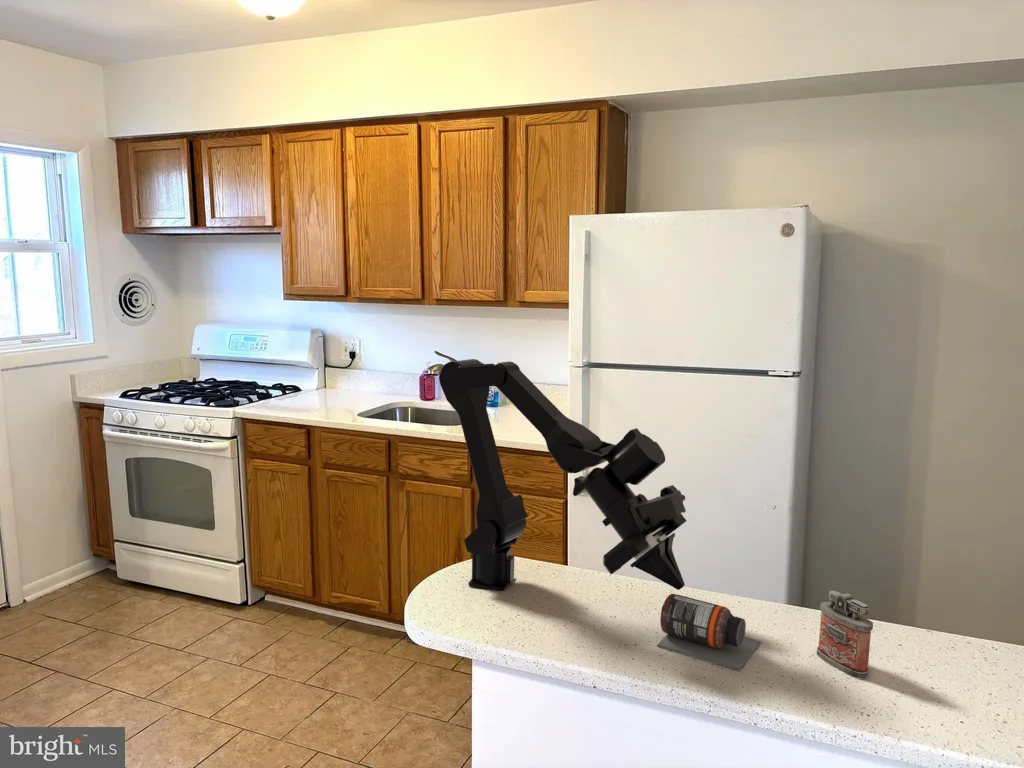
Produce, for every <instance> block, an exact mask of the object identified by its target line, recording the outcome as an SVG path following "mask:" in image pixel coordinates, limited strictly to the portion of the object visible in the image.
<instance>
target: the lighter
mask: <svg viewBox="0 0 1024 768" xmlns="http://www.w3.org/2000/svg"><path fill="white" fill-rule="evenodd" d="M828 596H829V597H828V599H829V601H823V602H821V603H820V604H819V605H820V606H819V611H821V613H820V622H819V623H820V624H819V637H818V646H817V647H816V656H817V657H818V658H819V659H820V660H822V661H823V662H825V663H827V664H828V665H830V666H831V667H833V668H834V669H836V668H837V669H836V670H837V671H840V672H841V671H842V673H843V672H844V673H843V674H846V675H847V676H850V677H851V678H854V677H855V679H858V678H866V679H868V678H869V673H870V669H869V658H870V648H871V647H870V646H871V645H870V644H871V636H872V635H871V634H872V631H873V628H874V623H873V621H871V620H870V619H868V618H867V617H866V616H869V612H870V611H869V610H870V607H869V605H868V604H866V603H863V602H862V601H859V600H857V599H854V597H853V595H852V594H850V593H844V594H842V593H841V592H839V591H836V590H830V591H829V595H828ZM867 677H868V678H867Z"/></svg>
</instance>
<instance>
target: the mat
mask: <svg viewBox="0 0 1024 768" xmlns="http://www.w3.org/2000/svg"><path fill="white" fill-rule="evenodd" d="M761 642H762V641H761V640H758V639H753V638H750V637H748V636H747V637H746V636H744V639H743V642H742V644H741V646H740V647H736V646H731V645H730V644H728V645H725V646H724V647H723V648H714V647H711V646H707V645H704V644H701V643H697V642H694V641H690V640H687V639H683V638H680V637H676V636H673V635H670V634H666V635H665V637H663V638H662V639H661V640H660V641H659V642H658V643H657V645H656V646H657V647H658V648H661V649H665V650H668V651H672V652H675V653H677V654H681V655H685V656H687V657H692V658H695V659H698V660H702V661H705V662H708V663H711V664H715V665H717V666H721V667H725V668H728V669H730V670H735V671H738V672H740V671H741V670H742V669H743V668H744V666H745V665H746V664H747V662H748V661H749V660H750V658H751V657H752V656H753V654H754V653H755V651H756V650H757V649H758V648H759V646H760V645H761Z"/></svg>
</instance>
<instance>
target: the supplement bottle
mask: <svg viewBox="0 0 1024 768" xmlns="http://www.w3.org/2000/svg"><path fill="white" fill-rule="evenodd" d="M659 622H660V628H661V630H662V633H665V634H666V635H668V634H670V635H673V636H676V637H680V638H683V639H687V640H690V641H694V642H697V643H701V644H704V645H707V646H711V647H714V648H723V647H724V646H725V645H728V644H730V645H731V646H736V647H740V646H741V644H742V642H743V639H744V637H745V634H746V624H747V623H746V620H745V619H744V618H742V617H739V616H734V615H733V613H731V610H730V609H729V608H728V607H726V606H723V605H721V604H720V605H719V604H716V603H711V602H707V601H705V600H699V599H696V598H693V597H689V596H686V595H681V594H676V593H671V594H668V596H667V597H665V600H664V601H663V604H662V608H661V611H660V621H659Z"/></svg>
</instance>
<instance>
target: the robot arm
mask: <svg viewBox="0 0 1024 768" xmlns="http://www.w3.org/2000/svg"><path fill="white" fill-rule="evenodd" d="M438 380H439V384H440V387H441V390H442V392H443V395H444V398H445V399H446V401H447V402H448V403H449V404H450V406H451V407H452V408H453V409H454V410H455V412H456V413H457V415H458V418H459V421H460V426H461V428H462V429H461V430H462V433H463V436H464V437H463V438H464V441H465V444H466V449H467V452H468V455H469V460H470V464H471V468H472V472H473V475H474V480H475V484H476V488H477V491H478V501H477V504H476V509H475V519H476V521H475V522H476V529H474V530H473V531H472V532H471V533H469V534H468V536H467V537H466V538H464V541H463V542H464V544H465V545H464V546H465V549H466V552H467V553H471V579H470V580H469V581H468V582H467V583H468V586H469V587H476V588H484V589H489V590H490V589H491V590H498V591H505V590H506V589H507V587H508V586H509V585H510V584H511V582H512V581H513V579H514V578H515V556H514V555H512V550H513V549H512V546H513V545H516V544H517V542H518V540H519V537H520V536H522V535H523V534H524V531H525V529H526V528H527V519H526V518H528V517H529V515H528V513H527V512H526V510H525V503H524V499H523V495H521V494H518V495H514V494H513V493H512V491H511V490H510V489H509V488H508V486H507V483H506V479H505V475H504V471H503V467H502V463H501V459H500V456H499V452H498V448H497V447H498V446H497V444H496V441H495V436H494V432H493V429H492V424H491V421H490V417H489V413H488V409H487V408H488V407H487V404H488V400H489V399H488V398H489V394H490V387H495V388H497V390H499V391H500V392H501V393H502V394H503V395H504V396H505V398H506V399H507V400H508V401H509V402H510V403H511V404H512V405H513V406H514V407H515V409H517V410H518V411H519V412H520V413H521V414H522V415H523V416H524V418H525V419H527V421H528V422H529V423H530V424H532V426H533V427H534V429H536V430H537V431H538V432H539V433H540V434H541V436H542V437H543V439H544V441H545V444H546V447H547V451H548V452H549V454H550V455H551V457H552V459H553V460H554V461H555V462H556V464H557V465H558V467H559V468H560V469H561V470H562V471H563V472H565V473H567V474H577V473H580V472H583V471H585V470H588V469H590V468H593V467H595V466H598V465H600V464H604V463H605V462H607V464H606V465H605V466H604V467H603V468H602V467H595V468H593V469H592V470H591V471H590V472H589V473H587V474H586V475H585V476H583V475H580V476H577V477H575V478H574V479H573V481H574V487H573V491H572V495H573V496H574V497H577V496H579V495H583V494H584V493H587V495H588V496H589V497H590V499H591V500H592V501H593V502H594V504H595V506H597V508H598V509H599V510H600V512H601V513H602V515H603V516H604V517H605V518H604V519H603V520H601V522H602V524H603V525H604V526H605V527H608V526H609V525H611V527H612V528H613V530H614V531H615V532H616V534H617V535H618V536H619V537H620V539H621V540H620V542H619V543H617V544H616V545H615V546H613V547H612V548H611V549H610V550H609V551H606V553H605V554H604V555H603V558H602V559H603V561H602V563H603V566H604V567H605V569H606V571H607V572H608V573H609V575H613V574H614V573H616V572H618V571H619V570H620V569H622V567H623V566H624V565H626V564H627V563H628V562H629V561H631V560H632V559H634V560H635V561H633V562H632V563H631V564H629V566H630V567H631V568H634V567H635V568H636V569H639V570H640V571H643V572H644V573H646V574H649V575H650V576H653V578H656V579H658V580H660V581H661V582H663V583H664V584H666V585H668V586H670V587H672V588H674V589H675V590H677V591H679V590H681V589H682V588H684V587H685V585H686V584H685V581H684V579H683V576H682V573H681V570H680V568H679V566H678V563H677V561H676V557H675V554H674V551H673V544H674V538H675V537H676V534H675V532H674V531H676V530H677V529H678V528H680V527H681V526H682V525H684V524H685V523H686V522H687V519H686V518H685V517H684V516H683V514H684V513H686V511H687V509H686V507H685V505H684V501H685V500H686V495H684V494H682V493H681V490H678V489H677V487H675V485H672V484H671V485H669V486H664V487H663V488H661V489H660V493H659V496H656V497H654V498H650V499H648V498H647V497H646V496H645V495H644V494H641V492H640V493H638V494H637V495H636V494H635V492H634V491H632V489H631V488H630V487H629V485H628V484H630V485H633V486H637V485H640V484H641V483H642V482H643V481H644V480H645V479H647V477H649V476H650V475H651V474H652V473H654V472H655V471H656V470H658V469H659V468H660V467H661V466H662V465H663V464H664V463H665V462H666V455H665V453H664V450H663V449H662V447H661V446H660V445H659V443H658V442H656V441H654V440H653V439H652V438H651V437H650V436H647V435H646V434H644V433H641V431H640V430H639V429H638V428H635V427H634V428H632V429H629V431H627V433H626V434H625V435H624V436H623V437H622V438H621V440H620V441H619V442H617V443H616V444H613V443H611V442H607V441H604V440H602V439H601V438H600V437H599V435H597V434H595V433H594V431H591V429H589V428H588V427H586V426H585V425H583V424H581V423H579V422H577V421H575V420H573V419H572V418H571V419H570V418H569V417H567V416H566V415H564V414H563V413H562V411H561V410H559V409H558V407H557V406H556V405H555V404H554V403H553V402H552V401H551V400H550V399H549V398H548V397H547V396H546V395H545V394H544V393H543V392H542V391H541V389H539V388H538V387H537V386H536V385H535V384H534V383H533V382H532V381H531V380H530V378H528V377H527V376H526V375H525V374H524V373H523V372H522V371H521V368H520V367H519V365H518V364H517V363H515V362H513V361H510V360H509V361H501V362H495V363H494V362H493V363H483V362H482V361H480V360H479V359H475V358H471V359H470V358H469V359H462V360H453V361H448V362H447V363H445V364H444V365H443V366H442V367H441V371H440V372H438ZM682 513H683V514H682Z"/></svg>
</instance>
